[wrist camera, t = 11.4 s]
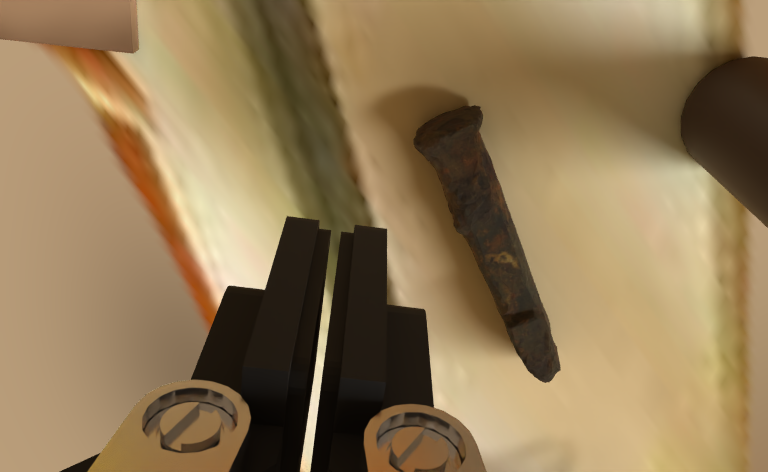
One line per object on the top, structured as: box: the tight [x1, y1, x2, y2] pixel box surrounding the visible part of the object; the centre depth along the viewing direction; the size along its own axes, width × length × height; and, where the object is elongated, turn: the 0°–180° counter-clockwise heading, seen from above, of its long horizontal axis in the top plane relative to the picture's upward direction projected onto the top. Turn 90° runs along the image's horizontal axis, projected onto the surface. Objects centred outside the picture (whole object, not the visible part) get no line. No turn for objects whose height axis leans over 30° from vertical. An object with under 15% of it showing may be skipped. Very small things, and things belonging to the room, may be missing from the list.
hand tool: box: [414, 105, 560, 383], centre depth 42 cm, size 19×4×5 cm, turn 21°
